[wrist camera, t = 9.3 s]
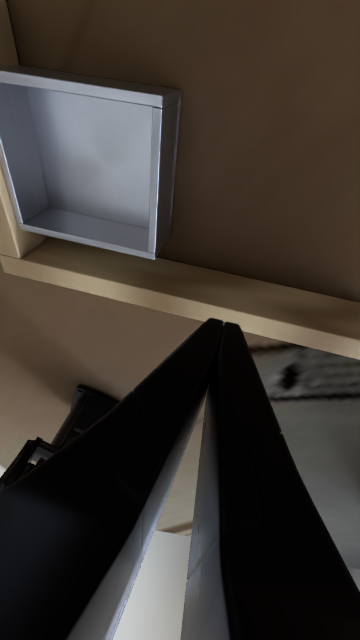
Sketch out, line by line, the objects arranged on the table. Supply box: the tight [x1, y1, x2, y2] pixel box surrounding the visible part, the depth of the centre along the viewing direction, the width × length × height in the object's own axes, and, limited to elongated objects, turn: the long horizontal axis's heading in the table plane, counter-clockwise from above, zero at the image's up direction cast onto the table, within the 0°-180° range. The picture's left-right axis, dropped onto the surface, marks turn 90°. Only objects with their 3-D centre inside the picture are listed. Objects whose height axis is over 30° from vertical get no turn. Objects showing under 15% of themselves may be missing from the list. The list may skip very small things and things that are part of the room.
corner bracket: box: [0, 0, 360, 360], centre depth 14 cm, size 22×12×4 cm, turn 84°
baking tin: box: [0, 65, 182, 260], centre depth 15 cm, size 8×7×3 cm
